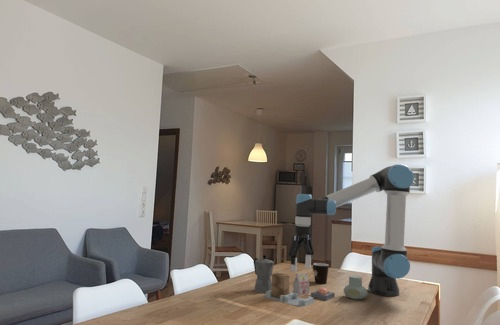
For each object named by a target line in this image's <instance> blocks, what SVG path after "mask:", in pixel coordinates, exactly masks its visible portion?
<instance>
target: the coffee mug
mask: <svg viewBox="0 0 500 325" xmlns="http://www.w3.org/2000/svg"><path fill="white" fill-rule="evenodd" d="M329 267H330V265H329V264H328V263H323V262H313V264H312V271H313V274H314V283H315V284H319V285H327V281H328V275H329Z"/></svg>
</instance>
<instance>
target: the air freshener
mask: <svg viewBox="0 0 500 325" xmlns="http://www.w3.org/2000/svg"><path fill="white" fill-rule="evenodd" d="M348 277H349V278H348V284H347V285H346V286H344V288H343V294H344V295H345V296H346V297H347V298H349V299H351V300H353V301H354V300H355V301H357V300H362V299H365V298H366V297H367V296H368V289H367V288H366V287H364V286H363V277H362V276H359V275H349V276H348Z"/></svg>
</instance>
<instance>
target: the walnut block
mask: <svg viewBox="0 0 500 325" xmlns="http://www.w3.org/2000/svg"><path fill="white" fill-rule="evenodd" d="M271 283H272V287H271V296H272V297H276V298H280V295H284V296H285V295H288V294H289V292H290V275H289V274H284V273H279V272H275V273H272V275H271Z"/></svg>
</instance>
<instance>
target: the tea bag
mask: <svg viewBox="0 0 500 325" xmlns="http://www.w3.org/2000/svg"><path fill="white" fill-rule="evenodd" d="M292 286H293V287H292V289H293V291H292V293H296V294H298V296H300V295H305V294H309V293H310V282H309V277H308V273H297V274H296V275H295V278H294V281H293V284H292Z"/></svg>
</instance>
